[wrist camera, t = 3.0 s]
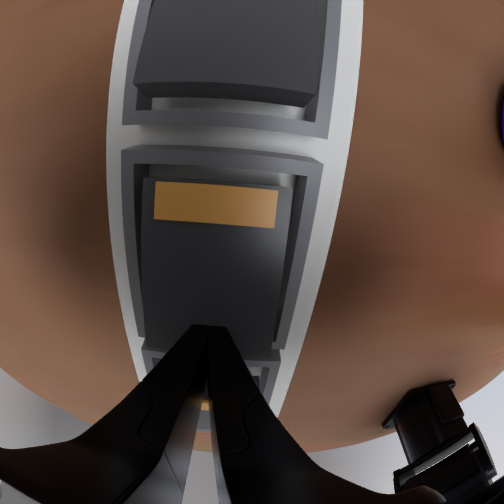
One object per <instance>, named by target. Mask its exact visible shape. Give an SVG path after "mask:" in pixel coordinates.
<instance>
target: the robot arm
mask: <svg viewBox="0 0 504 504" xmlns="http://www.w3.org/2000/svg"><path fill="white" fill-rule="evenodd" d="M206 381H207V392H208V406H209V418H210V429H211V439H212V449H213V458H214V467H215V475H216V483H217V490H218V497H219V504H504V476H502V477H501V478H499V479H498V480H496V481H495V482H494V483H493V482H492V478H493V477H494V476H496V475H497V472H496V469H495V466H494V463H493V460H492V457H491V455H490V452H489V450H488V447H487V445H486V442H485V440H484V438H483V436H482V434H481V432H480V430H479V429H478V427H477V426H476V425H475V424H474V422H473V423H472V424H471V425H469V427H467V425H466V423H465V421H464V419H463V416H464V413H463V411H462V409H461V407H460V405H459V403H458V401H457V399H456V398H455V396H454V394H453V392H452V389H453V388H454V387H455V385H456V382H455V381H454V380H453V381H449V382H446V383H442V384H438V385H433V386H429V387H425V388H420V389H415V390H412V391H410V392H409V393H408V394H407V395H406V396H405V398H404V399H403V400H402V401H401V403H400V404H399V405H398V407H397V408H396V409H395V410H394V411H393V413H392V414H391V415H390V416H389V417H388V419H387V420H386V421H385V422H384V423H383V424H382V427H383V429H388V428H392V427H395V428H396V430H397V433H398V436H399V439H400V441H401V444H402V447H403V450H404V452H405V455H406V458H407V461H408V464H409V465H407V466H406V467H404V468H402V469H398V470H396V471H394V472H393V474H394V479H393V481H394V490H395V494H381V493H377V492H374V491H371V490H368V489H366V488H364V487H361V486H359V485H356V484H354V483H352V482H350V481H347V480H345V479H343V478H341V477H338V476H336V475H334V474H332V473H330V472H328V471H326V470H324V469H323V468H321V467H320V466H318V465H317V464H316V463H315V462H314V461H313V460H311V458H310V457H309V456H308V455H307V454H306V453H305V452H304V450H303V449H302V448H301V447H300V446H299V445H298V443H297V442H296V441H295V440H294V439H293V437H292V436H291V435H290V434H289V433H288V431H287V430H286V429H285V428H284V426H283V425H282V424H281V422H280V421H279V420H278V418H277V417H276V416H275V414H274V413H273V411H272V409H271V408H270V406H269V405H268V403H267V401H266V400H265V398H264V396H263V394H262V393H260V392H261V391H260V389H259V387H258V385H257V384H256V382H255V380H254V378H253V376H252V374H251V373H250V371H249V369H248V367H247V365H246V363H245V361H244V360H243V358H242V356H241V354H240V352H239V350H238V348H237V346H236V344H235V342H234V340H233V338H232V336H231V334H230V332H229V331H228V329H227V327H222V326H210V327H209V326H208V325H199V324H192V325H191V326H190V327H189V328H188V329H187V331H186V332H185V333H184V334H183V335H182V336H181V337H180V338H179V339H178V341H177V342H176V343H175V344H174V345H173V346H172V347H171V348H170V349H169V351H168V352H167V353H166V354H165V355H164V356H163V357H162V358H161V359H160V361H159V362H158V363H157V364H156V365H155V366H154V367H153V368H152V369H151V371H150V372H149V373H148V374H147V375H146V376H145V377H144V378H143V379H142V381H140V382H139V384H138V385H137V386H136V387H135V388H134V389H133V390H132V391H131V392H130V393H129V394H128V395H127V396H126V397H125V398H124V399H123V400H122V401H121V402H120V403H119V404H118V405H117V406H115V407H114V408H113V409H112V410H111V411H110V412H108V413H107V414H106V415H105V416H104V417H102V418H101V419H100V420H99V421H98V422H96V423H95V424H94V425H93V426H91V427H90V428H89V429H88V430H87V431H85V432H84V433H83V434H81V435H80V436H78V437H76V438H74V439H72V440H69V441H66V442H61V443H55V444H50V445H43V446H37V447H30V448H22V449H4V448H1V447H0V479H1V480H2V481H1V484H0V504H181V503H182V499H183V493H184V489H185V483H186V478H187V473H188V468H189V463H190V458H191V453H192V449H193V444H194V439H195V434H196V430H197V425H198V420H199V415H200V411H201V406H202V401H203V397H204V392H205V387H206ZM473 438H474V439H475V442H473V443H472V444H470V445H469V444H466V443H468V442H469V441H471V440H472V439H473ZM465 444H466V445H465ZM464 445H465V446H464ZM462 446H464V447H462ZM461 447H462V448H461ZM459 448H460V449H459ZM458 449H459V450H458ZM456 450H457V451H456ZM454 451H456V452H454ZM453 452H454V453H453ZM451 453H453V454H451ZM450 454H451V455H450ZM448 455H450V456H448ZM447 456H448V457H447ZM445 457H447V458H445ZM443 458H445V459H443ZM442 459H443V460H442ZM440 460H442V461H440ZM438 461H440V462H439V463H437V462H438ZM435 463H437V464H435ZM433 464H435V465H434V466H432V465H433ZM430 466H431V467H430ZM428 467H430V468H428ZM426 468H428V469H426ZM425 469H426V470H425ZM423 470H425V471H423ZM421 471H423V472H421ZM419 472H421V473H419ZM417 473H419V474H417ZM415 474H417V475H415Z"/></svg>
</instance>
